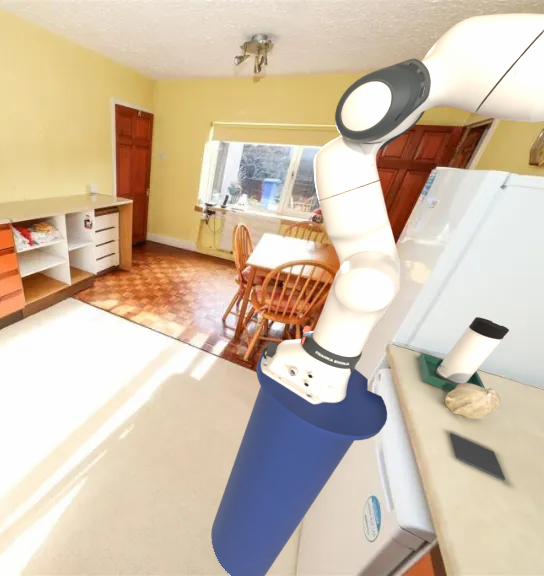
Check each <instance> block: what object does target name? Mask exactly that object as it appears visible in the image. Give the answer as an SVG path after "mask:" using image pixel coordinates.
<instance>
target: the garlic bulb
mask: <svg viewBox="0 0 544 576" xmlns="http://www.w3.org/2000/svg"><path fill="white" fill-rule="evenodd" d="M444 405H445V407H446V408H447V409H449V410H450V411H451V412H452V414H455V415H459V416H461V417H464V418H468V419H475V420H477V419H482V418H484V417H486V416H489V415H491V414H492V413H493V412H494V411H495V410H497V409H498V408H500V405H501V398H500V395H499V394H498V392H497V390H496V389H495V388H491V387H490V388H486V387H485V388H482V387H480V386H477V385H475V384H470V383H462V384H458V385H457V386H456V387H455V389H454V390H452V391H448V392H447V394H446V395H445V398H444Z"/></svg>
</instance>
